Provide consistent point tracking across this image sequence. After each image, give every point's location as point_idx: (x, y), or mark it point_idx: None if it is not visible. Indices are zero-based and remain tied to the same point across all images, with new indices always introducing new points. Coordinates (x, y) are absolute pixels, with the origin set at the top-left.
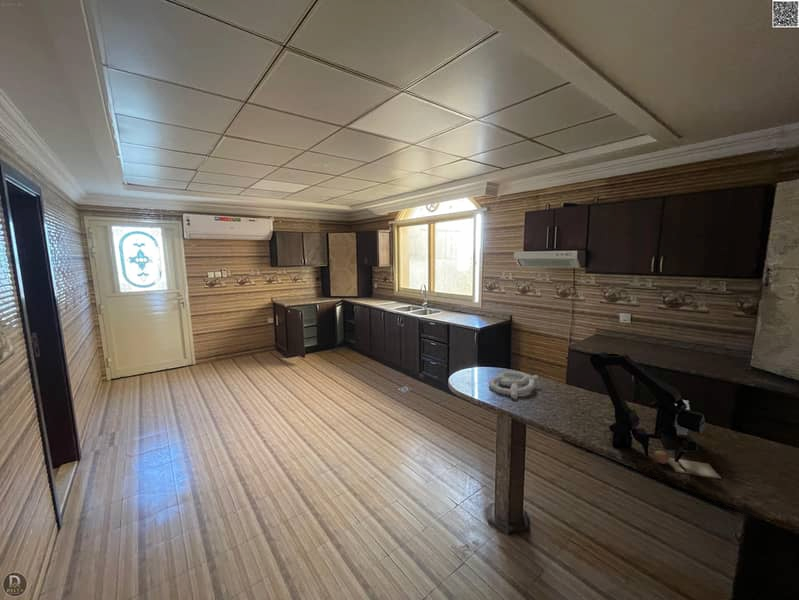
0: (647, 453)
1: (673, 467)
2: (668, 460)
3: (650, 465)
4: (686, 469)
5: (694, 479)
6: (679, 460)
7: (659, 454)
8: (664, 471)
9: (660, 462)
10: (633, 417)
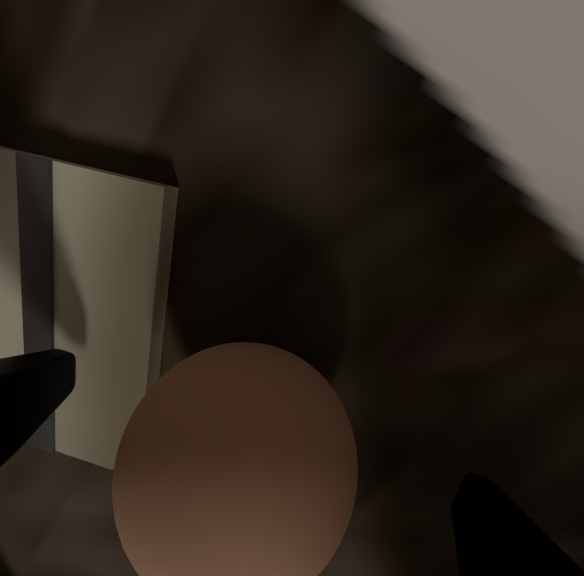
0: (545, 568)
1: (162, 267)
2: None
3: (485, 322)
4: (8, 223)
5: (5, 7)
6: None
7: (292, 506)
8: (356, 173)
9: (303, 361)
10: None
